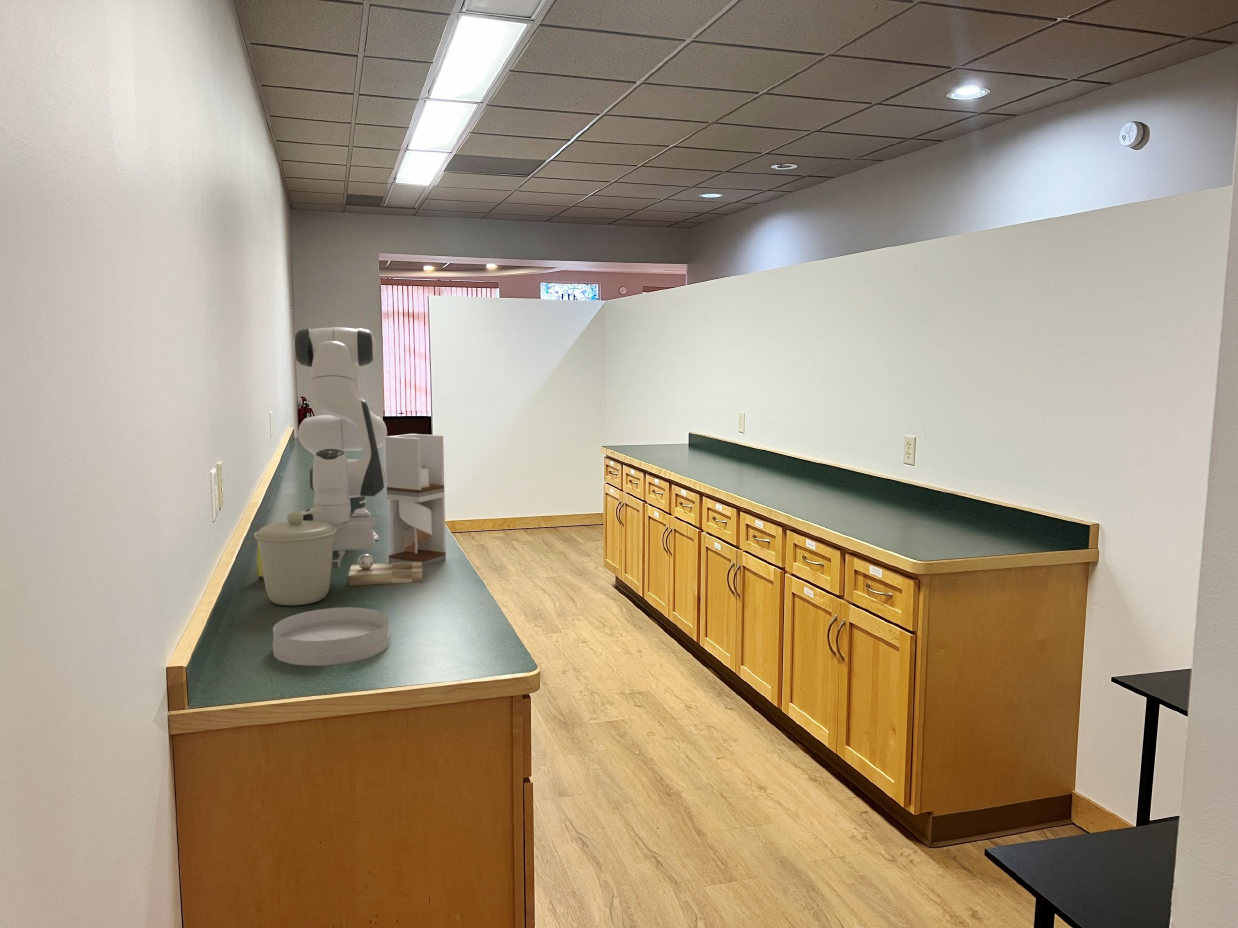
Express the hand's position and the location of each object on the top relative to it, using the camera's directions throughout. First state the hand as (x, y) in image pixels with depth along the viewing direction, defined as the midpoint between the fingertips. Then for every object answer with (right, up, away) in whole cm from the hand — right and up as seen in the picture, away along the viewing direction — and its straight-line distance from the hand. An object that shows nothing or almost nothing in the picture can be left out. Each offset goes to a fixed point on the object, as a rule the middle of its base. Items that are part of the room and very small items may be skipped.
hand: (334, 567), depth 224 cm
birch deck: (+12, -3, +3) cm, 13 cm away
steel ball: (+8, +1, +2) cm, 8 cm away
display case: (+16, -1, +23) cm, 28 cm away
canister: (-3, -6, -18) cm, 19 cm away
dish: (+16, -10, -50) cm, 53 cm away
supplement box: (-16, -3, +4) cm, 17 cm away
